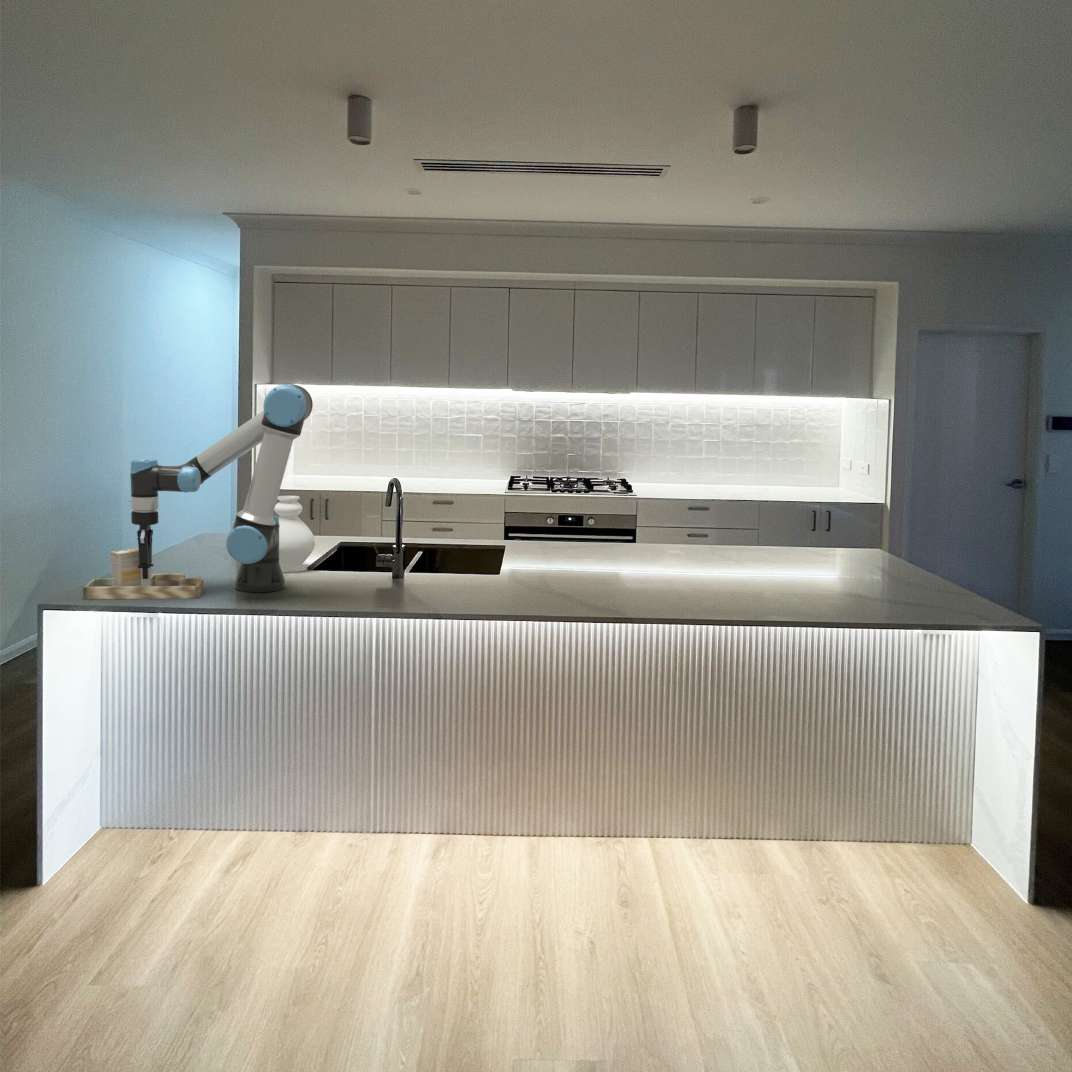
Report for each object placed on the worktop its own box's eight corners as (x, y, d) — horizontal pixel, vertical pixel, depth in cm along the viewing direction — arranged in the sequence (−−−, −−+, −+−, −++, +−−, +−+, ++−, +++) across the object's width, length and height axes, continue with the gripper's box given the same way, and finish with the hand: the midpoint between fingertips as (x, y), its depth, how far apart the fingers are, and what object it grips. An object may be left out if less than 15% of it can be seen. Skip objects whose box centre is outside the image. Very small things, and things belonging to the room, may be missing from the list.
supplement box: (136, 590, 326) (135, 548, 324) (145, 592, 323) (144, 549, 321) (111, 594, 320) (109, 550, 318) (120, 596, 317) (119, 552, 315)
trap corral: (205, 584, 339) (205, 573, 338) (198, 598, 318) (198, 586, 318) (97, 585, 332) (97, 574, 332) (83, 599, 312) (83, 587, 311)
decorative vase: (265, 564, 378) (265, 493, 374) (317, 565, 380) (317, 494, 376) (258, 573, 360) (257, 499, 357) (312, 574, 362) (312, 500, 359)
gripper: (134, 507, 324) (136, 584, 327) (127, 513, 311) (129, 593, 315) (161, 508, 325) (162, 584, 329) (155, 513, 313) (156, 593, 316)
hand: (146, 588), depth 322 cm, fingers closed
